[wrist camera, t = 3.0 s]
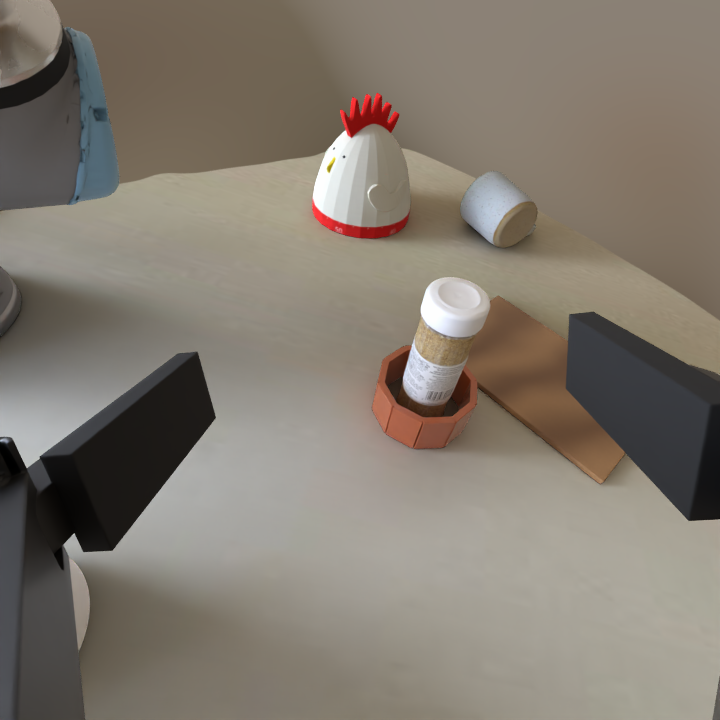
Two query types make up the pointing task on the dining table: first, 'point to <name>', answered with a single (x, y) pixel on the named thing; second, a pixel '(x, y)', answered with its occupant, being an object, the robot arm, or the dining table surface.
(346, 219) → the kitchen timer
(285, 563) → the dining table surface
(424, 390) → the sprinkles bottle
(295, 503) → the dining table surface
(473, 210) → the ceramic mug
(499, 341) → the wooden board
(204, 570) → the dining table surface
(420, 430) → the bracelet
